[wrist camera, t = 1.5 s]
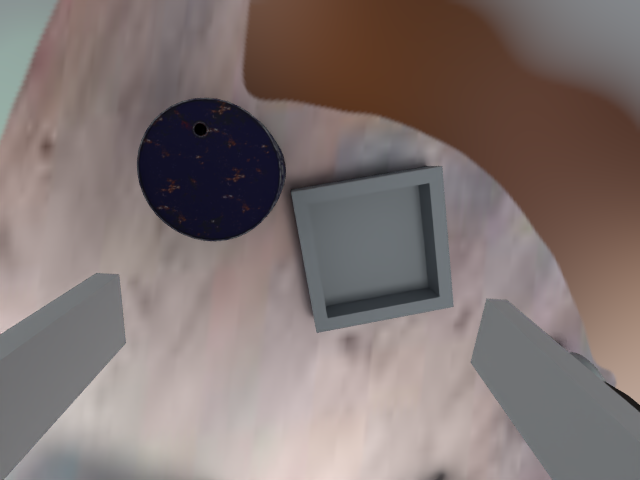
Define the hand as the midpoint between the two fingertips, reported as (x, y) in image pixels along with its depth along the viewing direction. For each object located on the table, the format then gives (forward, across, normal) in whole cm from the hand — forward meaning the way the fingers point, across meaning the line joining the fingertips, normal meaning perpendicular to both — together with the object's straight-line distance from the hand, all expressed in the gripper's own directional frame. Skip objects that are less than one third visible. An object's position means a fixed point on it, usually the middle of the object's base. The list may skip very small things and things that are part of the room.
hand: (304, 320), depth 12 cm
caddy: (+28, -8, +6) cm, 29 cm away
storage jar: (+28, +8, -2) cm, 29 cm away
